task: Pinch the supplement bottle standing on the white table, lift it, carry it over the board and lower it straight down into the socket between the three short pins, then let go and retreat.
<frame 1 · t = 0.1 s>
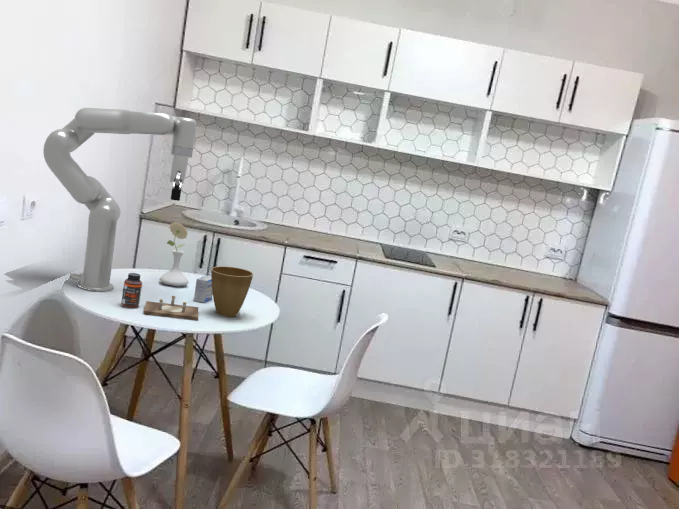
hand: (175, 198, 251), 37 cm above the table, tool pointing down, fingers open, 9 cm apart
plant pot: (225, 314, 247), on the table
pin board: (171, 312, 237), on the table
supplement bottle: (129, 306, 236), on the table
flower in vase: (172, 284, 277), on the table
medicine box: (202, 300, 261), on the table
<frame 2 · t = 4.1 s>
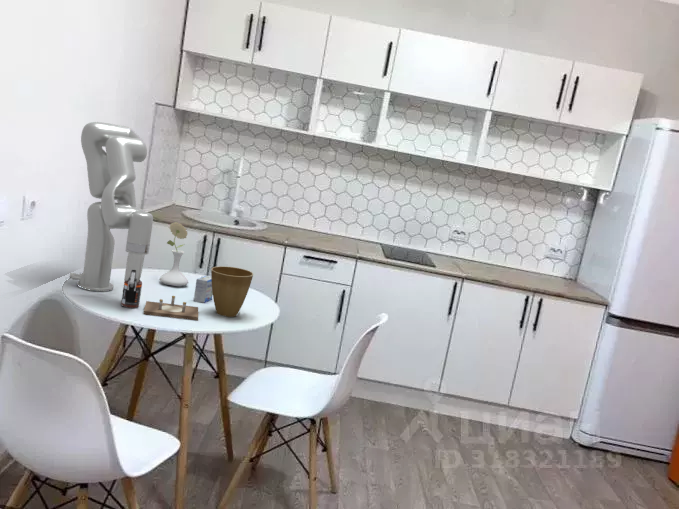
hand: (130, 298, 235), 3 cm above the table, tool pointing down, fingers closed on supplement bottle, 6 cm apart
supplement bottle: (129, 306, 236), on the table, touching gripper
everything else where it was.
when the fingers open (5 cm above the table, at t = 9.6 s): supplement bottle drops 1 cm, resting on pin board.
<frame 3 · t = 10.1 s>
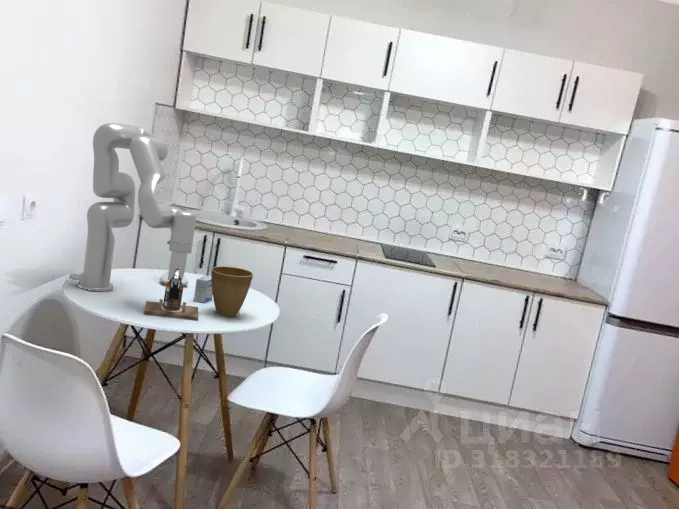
hand: (173, 295, 236), 6 cm above the table, tool pointing down, fingers open, 9 cm apart
supplement bottle: (171, 309, 237), point 1 cm above the table, touching pin board
everything else where it was.
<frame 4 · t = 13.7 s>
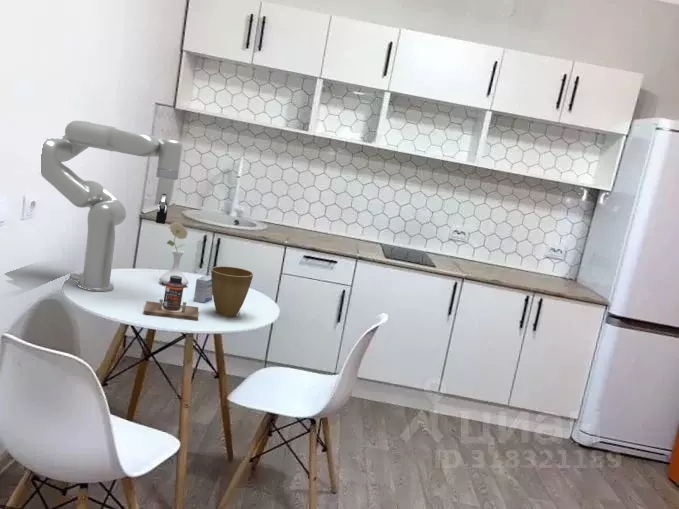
hand: (160, 221, 247), 28 cm above the table, tool pointing down, fingers open, 9 cm apart
nothing on the table moved.
at the end: supplement bottle 0.2 cm off-centre on the pin board, point 1.1 cm above the pin board's base; supplement bottle tilted 0°; the gripper is holding nothing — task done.
